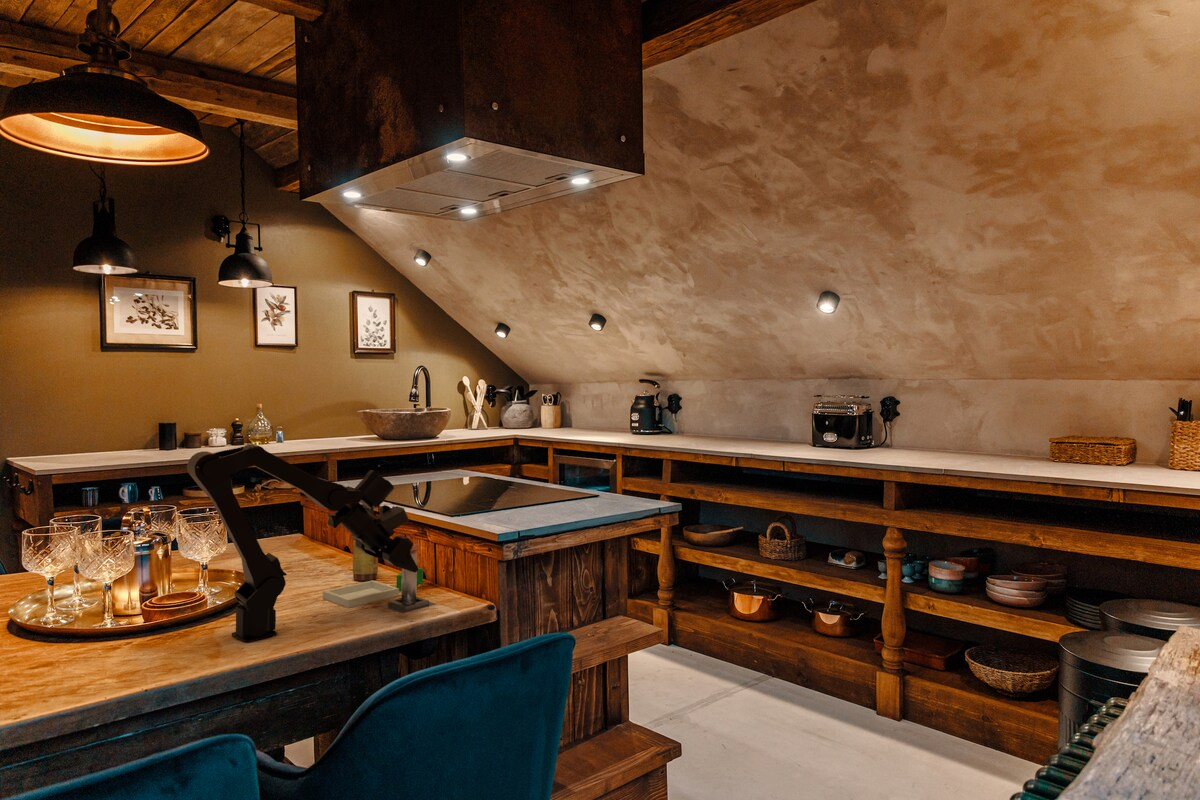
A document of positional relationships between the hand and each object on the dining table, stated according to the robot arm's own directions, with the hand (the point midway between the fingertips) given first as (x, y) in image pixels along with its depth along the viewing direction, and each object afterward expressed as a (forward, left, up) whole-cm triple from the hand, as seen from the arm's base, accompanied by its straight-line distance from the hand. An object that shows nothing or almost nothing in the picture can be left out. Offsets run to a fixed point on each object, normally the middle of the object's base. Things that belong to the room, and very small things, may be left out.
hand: (407, 566), depth 171 cm
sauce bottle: (+7, +28, -10) cm, 30 cm away
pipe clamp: (+11, +13, -10) cm, 19 cm away
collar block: (0, 0, -9) cm, 9 cm away
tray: (-4, +13, -9) cm, 16 cm away
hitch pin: (0, 0, -9) cm, 9 cm away
